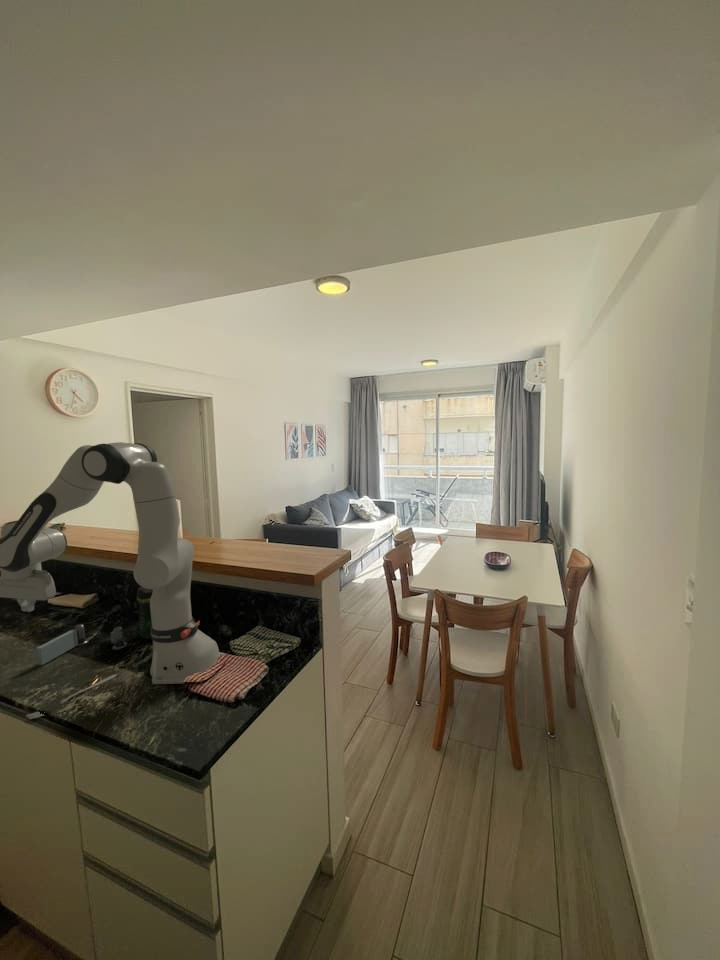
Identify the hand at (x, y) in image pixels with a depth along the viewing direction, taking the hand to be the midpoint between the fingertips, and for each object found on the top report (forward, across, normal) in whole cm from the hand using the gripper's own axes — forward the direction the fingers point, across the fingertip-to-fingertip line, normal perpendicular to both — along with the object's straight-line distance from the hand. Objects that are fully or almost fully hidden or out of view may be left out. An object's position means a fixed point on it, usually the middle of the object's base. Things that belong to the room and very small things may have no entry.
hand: (28, 610), depth 121 cm
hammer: (+17, -21, -12) cm, 29 cm away
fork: (+17, -32, +12) cm, 38 cm away
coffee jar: (+17, -28, -22) cm, 39 cm away
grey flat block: (+16, -6, -4) cm, 18 cm away
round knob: (+17, -6, -12) cm, 21 cm away
